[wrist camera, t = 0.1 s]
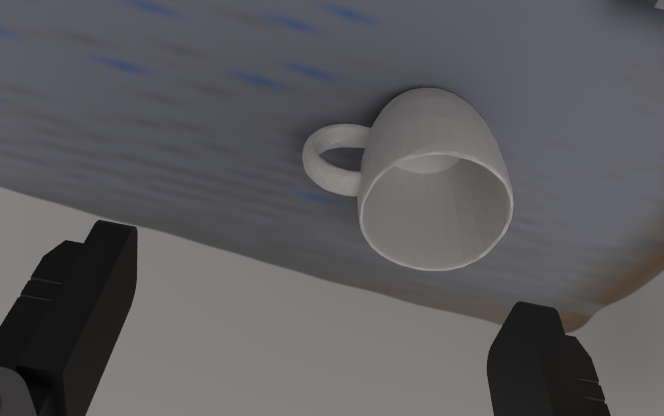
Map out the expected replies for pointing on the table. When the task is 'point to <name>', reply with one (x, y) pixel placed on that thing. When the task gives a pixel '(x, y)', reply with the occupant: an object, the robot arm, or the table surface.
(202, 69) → the table surface
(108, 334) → the robot arm
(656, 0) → the switch unit
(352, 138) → the mug
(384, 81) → the table surface
